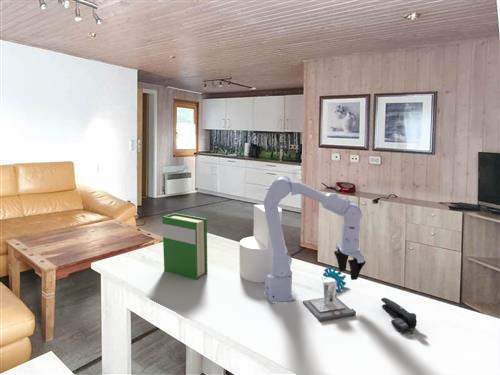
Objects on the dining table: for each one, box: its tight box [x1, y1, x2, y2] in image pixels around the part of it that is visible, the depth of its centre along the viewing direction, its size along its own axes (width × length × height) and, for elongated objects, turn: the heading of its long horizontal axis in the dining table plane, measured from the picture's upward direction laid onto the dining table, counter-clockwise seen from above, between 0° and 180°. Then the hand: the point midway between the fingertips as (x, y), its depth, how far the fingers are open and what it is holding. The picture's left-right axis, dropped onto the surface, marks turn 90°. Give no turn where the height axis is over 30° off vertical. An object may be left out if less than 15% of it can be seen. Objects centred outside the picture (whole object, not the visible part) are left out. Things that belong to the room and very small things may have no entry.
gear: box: [322, 266, 347, 293], centre depth 139 cm, size 11×6×10 cm
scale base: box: [302, 295, 357, 323], centre depth 122 cm, size 13×13×2 cm
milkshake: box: [321, 277, 337, 306], centre depth 122 cm, size 5×5×10 cm
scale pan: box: [309, 298, 346, 313], centre depth 123 cm, size 10×8×1 cm
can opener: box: [380, 297, 418, 333], centre depth 116 cm, size 18×7×6 cm, turn 7°
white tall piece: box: [239, 204, 283, 283], centre depth 149 cm, size 17×17×28 cm
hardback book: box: [162, 212, 208, 281], centre depth 150 cm, size 18×7×24 cm, turn 59°
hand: (348, 274), depth 125 cm, fingers open, 7 cm apart
